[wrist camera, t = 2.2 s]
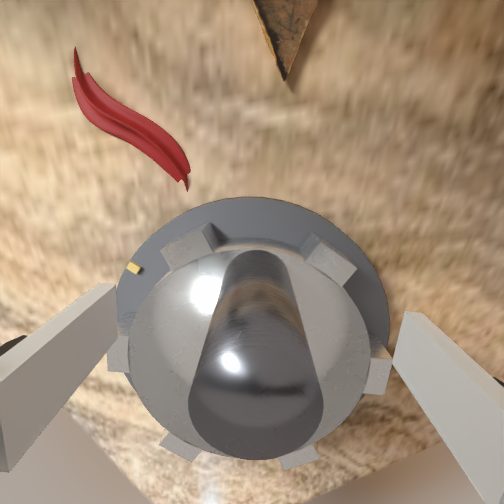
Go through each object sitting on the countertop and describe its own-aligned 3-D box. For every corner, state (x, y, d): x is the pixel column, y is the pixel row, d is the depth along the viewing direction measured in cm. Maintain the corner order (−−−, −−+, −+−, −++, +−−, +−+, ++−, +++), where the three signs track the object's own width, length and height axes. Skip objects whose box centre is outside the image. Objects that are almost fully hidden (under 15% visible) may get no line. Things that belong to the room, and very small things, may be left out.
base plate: (118, 183, 22) (103, 186, 20) (406, 210, 22) (422, 215, 20) (126, 416, 28) (114, 438, 26) (353, 436, 28) (361, 459, 26)
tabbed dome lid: (122, 213, 21) (-83, 292, 8) (398, 238, 21) (607, 354, 8) (128, 422, 26) (6, 669, 13) (351, 442, 26) (438, 703, 13)
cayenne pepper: (52, 61, 21) (32, 51, 19) (108, 21, 20) (92, 6, 18) (153, 217, 23) (144, 221, 22) (205, 187, 23) (200, 189, 21)
